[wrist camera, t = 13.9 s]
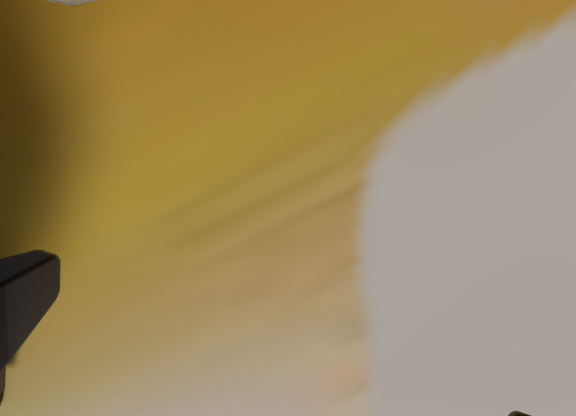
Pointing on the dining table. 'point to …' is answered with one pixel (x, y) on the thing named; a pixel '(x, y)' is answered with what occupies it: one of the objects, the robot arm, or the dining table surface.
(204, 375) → the dining table surface
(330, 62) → the dining table surface
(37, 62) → the dining table surface
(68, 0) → the groove tray
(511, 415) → the robot arm
